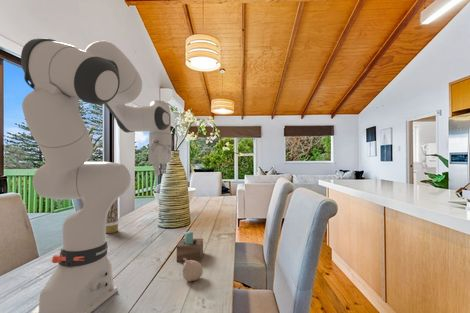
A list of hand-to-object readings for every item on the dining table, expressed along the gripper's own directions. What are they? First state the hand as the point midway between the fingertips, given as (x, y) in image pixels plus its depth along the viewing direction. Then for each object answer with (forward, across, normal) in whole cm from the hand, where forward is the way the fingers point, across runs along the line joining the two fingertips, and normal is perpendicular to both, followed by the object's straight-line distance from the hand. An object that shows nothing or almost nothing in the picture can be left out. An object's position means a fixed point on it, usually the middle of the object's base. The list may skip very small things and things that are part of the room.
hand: (160, 174), depth 107 cm
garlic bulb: (+33, -23, -17) cm, 44 cm away
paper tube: (+33, +32, +36) cm, 59 cm away
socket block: (+33, -4, -13) cm, 36 cm away
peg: (+33, -4, -12) cm, 35 cm away
